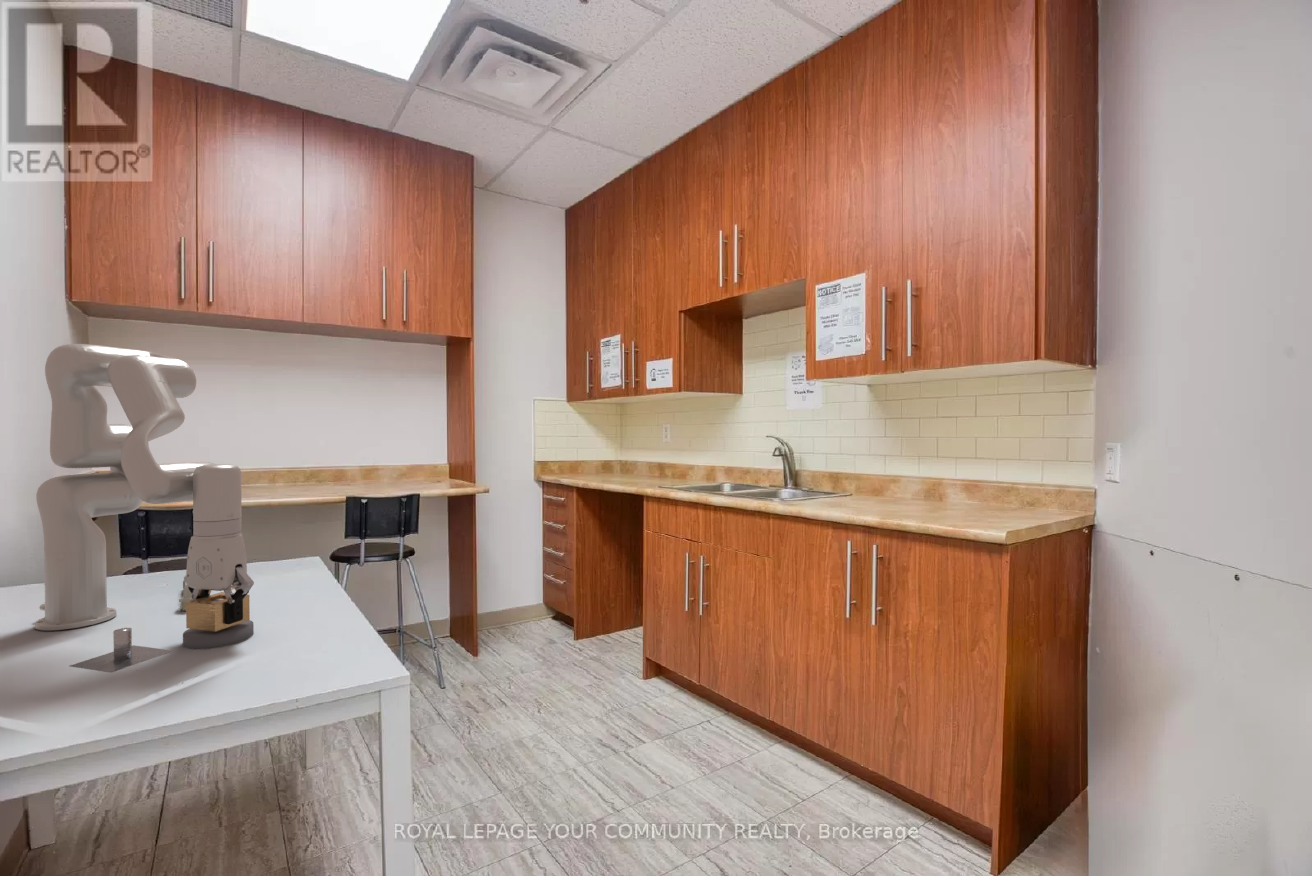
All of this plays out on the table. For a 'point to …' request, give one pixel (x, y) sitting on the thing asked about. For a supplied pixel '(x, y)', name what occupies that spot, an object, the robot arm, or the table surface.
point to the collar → (211, 613)
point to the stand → (121, 654)
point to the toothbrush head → (185, 596)
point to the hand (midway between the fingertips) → (218, 619)
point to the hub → (218, 636)
